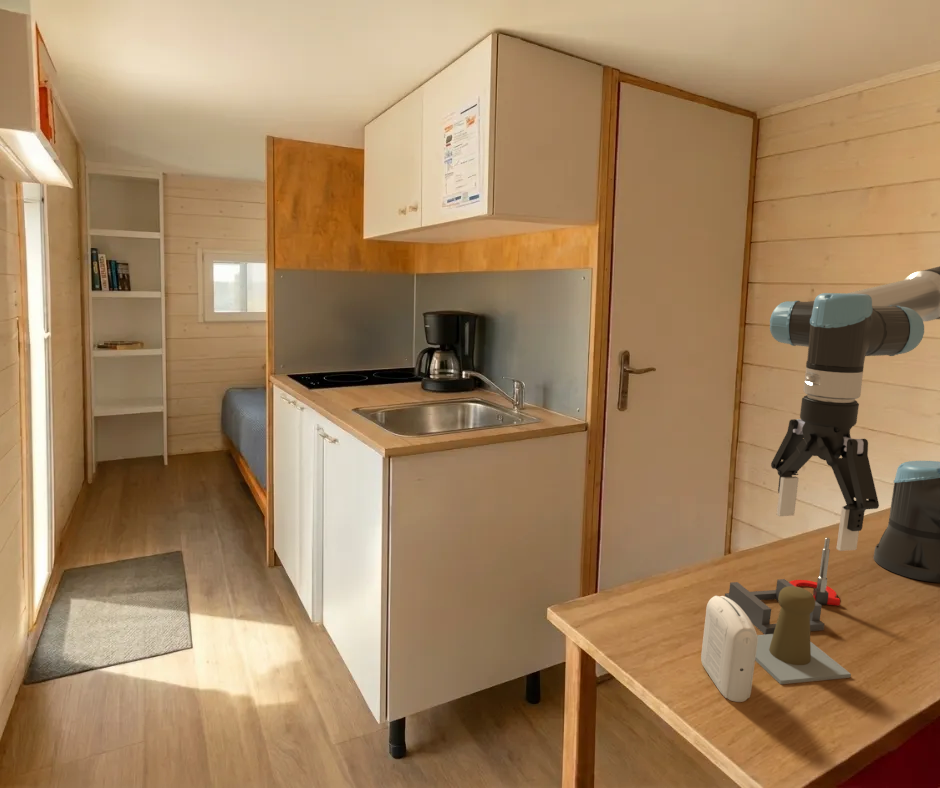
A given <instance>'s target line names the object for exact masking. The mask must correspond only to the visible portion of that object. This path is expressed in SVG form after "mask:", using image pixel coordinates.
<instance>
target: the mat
mask: <svg viewBox="0 0 940 788" xmlns="http://www.w3.org/2000/svg"><path fill="white" fill-rule="evenodd" d="M757 637H758V641H757V650H756V657H755V663H758V665H760V667H762V668H763V670H764V671H766V672H767V673H768V674H769V675H770V676H771V677H772V678H773V679H775V681H776V682H778V683H779V685H786V684H787V685H788V684H797V683H806V682H807V683H808V682H818V681H819V682H820V681H828V680H829V681H830V680H839V679H846V678H847V679H848V678H851V676H852V674H851V673H850V672H849V670H847V669H846V668H844V667H843V666H842V665H841V664H839V662H837V661H836V660H834V659H833V658H832V657H831V656H829V655H828V654H827V653H826V652H825V651H823V650H822V649H821V648H819V647H818V646H817V645H816V644H814V643H813V642H812V641H811V640H810V647H811V661H810V662H809V663H808V664H805V665H793V664H789V663H785V662H783V661H781V660H779V659H777V658H775V657H774V656H773V655H772V654H771V653H770V651H769V648H770V644H771V641H772V637H773V634H757Z"/></svg>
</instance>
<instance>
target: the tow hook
mask: <svg viewBox="0 0 940 788" xmlns="http://www.w3.org/2000/svg"><path fill="white" fill-rule="evenodd" d="M830 540H831V539H830V537H825V538H824V544H823V547H822V551H821V560H820V568H819V576H818V577H817V581H813V580H808V579H793V580H791V581H788V582H789V583H791V584H792V585H794V586H795V587H809V588H813V591H812V592H813V593H812V595H813V597H814V599H815V601H816V602H818V603H819V604H821V605H823V606H827V605H828V606H838V607H839V606H840V605H841V599H840V598H839V597H837V595H838V594H837V592H836V591H835V590H834V589H833V588H831V587H830V586H828V585H827V584H828V578H827V575H828V566H829V558H830V551H831V550H830Z"/></svg>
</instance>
